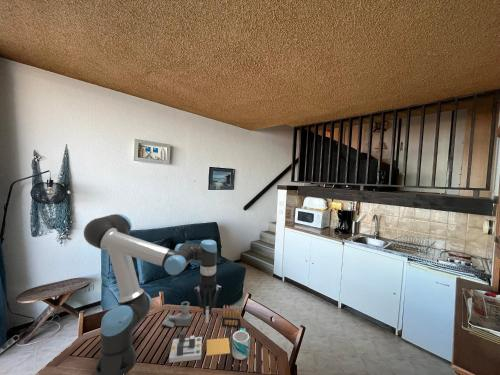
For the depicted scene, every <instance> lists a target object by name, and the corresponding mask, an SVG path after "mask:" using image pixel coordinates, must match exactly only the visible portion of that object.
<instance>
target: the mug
mask: <svg viewBox="0 0 500 375" xmlns="http://www.w3.org/2000/svg"><path fill="white" fill-rule="evenodd" d="M250 338H251V337H250V334H249V332H247V331H246V328H243V327H240V330H237V331H235V332H234V333H233V334H232V340H231V341H232V342H231V343H232V344H231V346H232V347H231V354H232V357H233V358H235V359H236V360H241V361H242V360H245V359H246V358H248V356H249V354H250V341H251V340H250Z"/></svg>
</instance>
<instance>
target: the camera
mask: <svg viewBox="0 0 500 375" xmlns="http://www.w3.org/2000/svg"><path fill="white" fill-rule="evenodd" d="M180 308H181V312H178V313H177V314H175V315H173V314H169V313H167V315H166V317H165V318H164V320H162V323H161V325H162V326H165V327H169V328H174V327H190V326H191V323H192V322H193V320H192V318H193V315H192V314H193V313H190V312H189V310H190V302H189V301H183V302H181V305H180Z"/></svg>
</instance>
